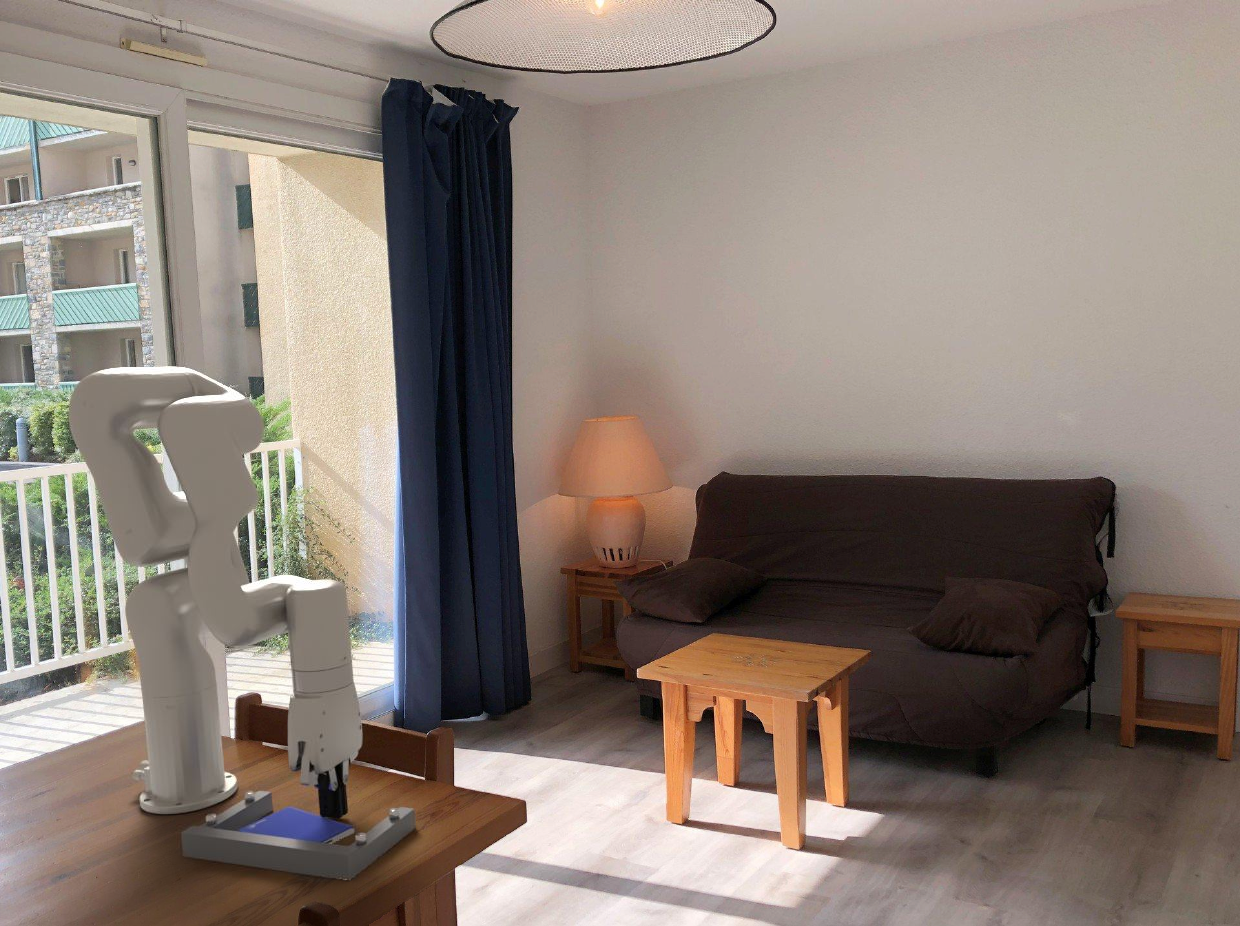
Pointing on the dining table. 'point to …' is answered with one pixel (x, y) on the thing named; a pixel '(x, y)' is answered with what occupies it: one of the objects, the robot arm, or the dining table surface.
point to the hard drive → (300, 826)
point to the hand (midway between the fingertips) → (334, 815)
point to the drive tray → (289, 842)
